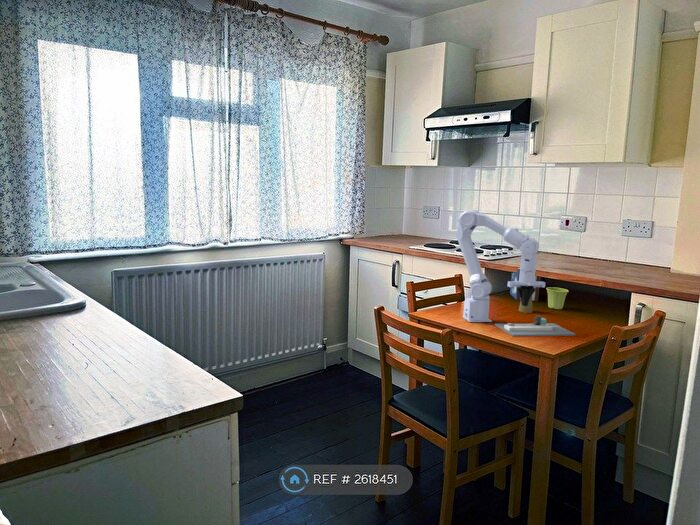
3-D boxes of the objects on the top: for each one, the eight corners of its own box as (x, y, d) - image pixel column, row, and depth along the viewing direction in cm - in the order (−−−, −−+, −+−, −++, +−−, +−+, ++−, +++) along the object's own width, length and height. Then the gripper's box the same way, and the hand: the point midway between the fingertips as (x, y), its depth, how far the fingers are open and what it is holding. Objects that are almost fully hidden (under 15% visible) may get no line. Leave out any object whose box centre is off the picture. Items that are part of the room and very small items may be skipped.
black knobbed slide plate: (515, 328, 197) (516, 317, 197) (512, 326, 199) (513, 315, 199) (549, 328, 200) (550, 317, 199) (546, 326, 202) (547, 315, 201)
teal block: (538, 326, 202) (539, 319, 201) (535, 325, 204) (536, 318, 204) (545, 326, 202) (546, 319, 202) (542, 324, 205) (543, 317, 204)
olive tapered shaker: (533, 313, 227) (536, 288, 225) (519, 312, 228) (521, 287, 226) (531, 310, 233) (534, 285, 231) (517, 309, 234) (519, 284, 232)
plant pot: (559, 305, 245) (561, 287, 244) (570, 310, 236) (572, 291, 234) (540, 305, 243) (542, 287, 242) (551, 310, 234) (553, 291, 233)
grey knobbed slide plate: (512, 336, 190) (513, 329, 190) (494, 325, 205) (494, 319, 204) (575, 335, 194) (576, 329, 194) (553, 324, 209) (553, 318, 209)
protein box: (530, 294, 267) (533, 264, 265) (538, 301, 252) (541, 269, 250) (509, 293, 268) (512, 263, 266) (515, 300, 253) (518, 268, 251)
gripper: (515, 272, 195) (511, 307, 197) (550, 272, 197) (547, 307, 199) (506, 268, 202) (503, 303, 204) (540, 269, 204) (537, 303, 206)
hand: (524, 305), depth 202 cm, fingers closed
